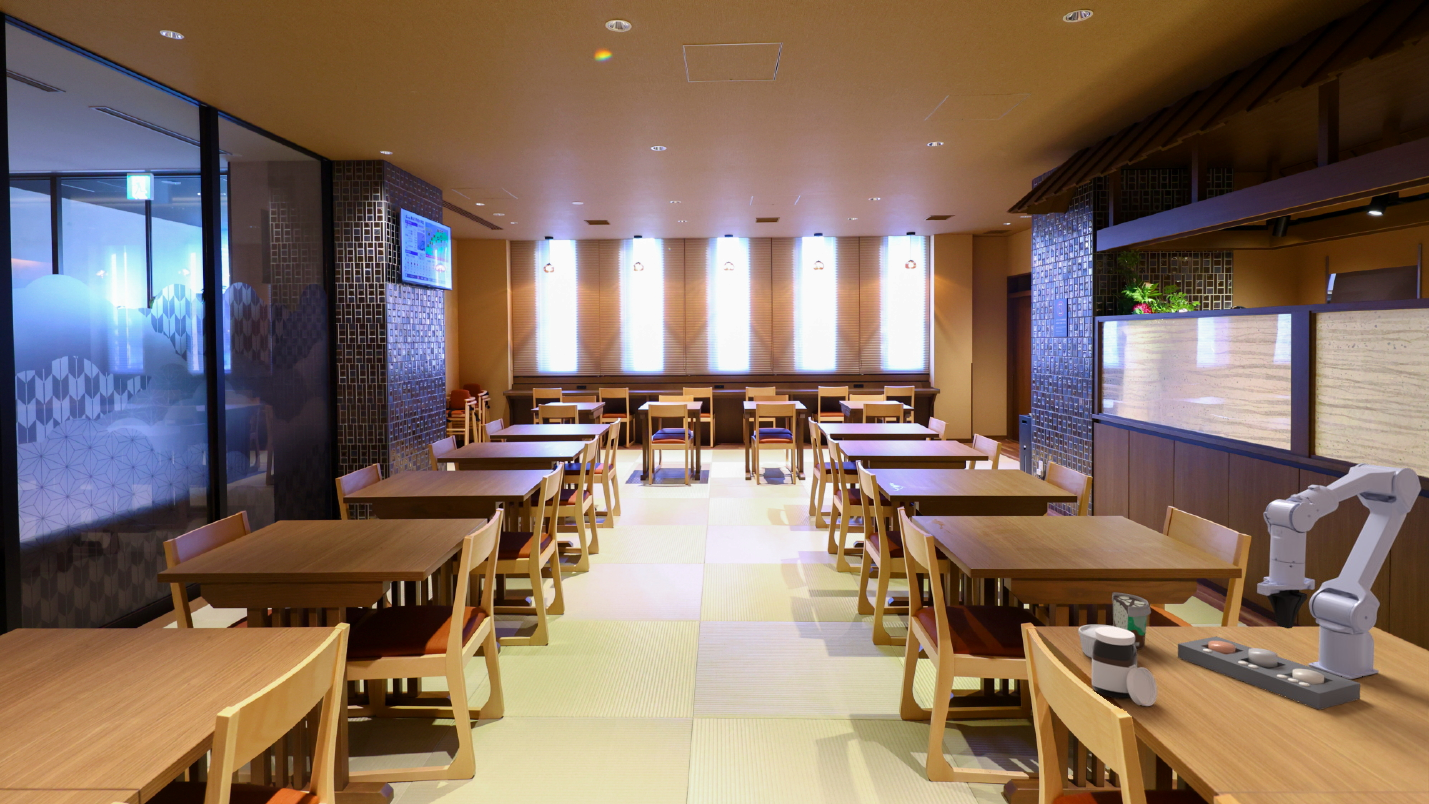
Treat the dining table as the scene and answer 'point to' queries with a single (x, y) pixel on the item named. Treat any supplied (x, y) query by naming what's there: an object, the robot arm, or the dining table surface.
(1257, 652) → the button two
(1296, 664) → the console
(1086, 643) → the ramekin
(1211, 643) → the button one
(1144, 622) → the food container
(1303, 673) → the button three
